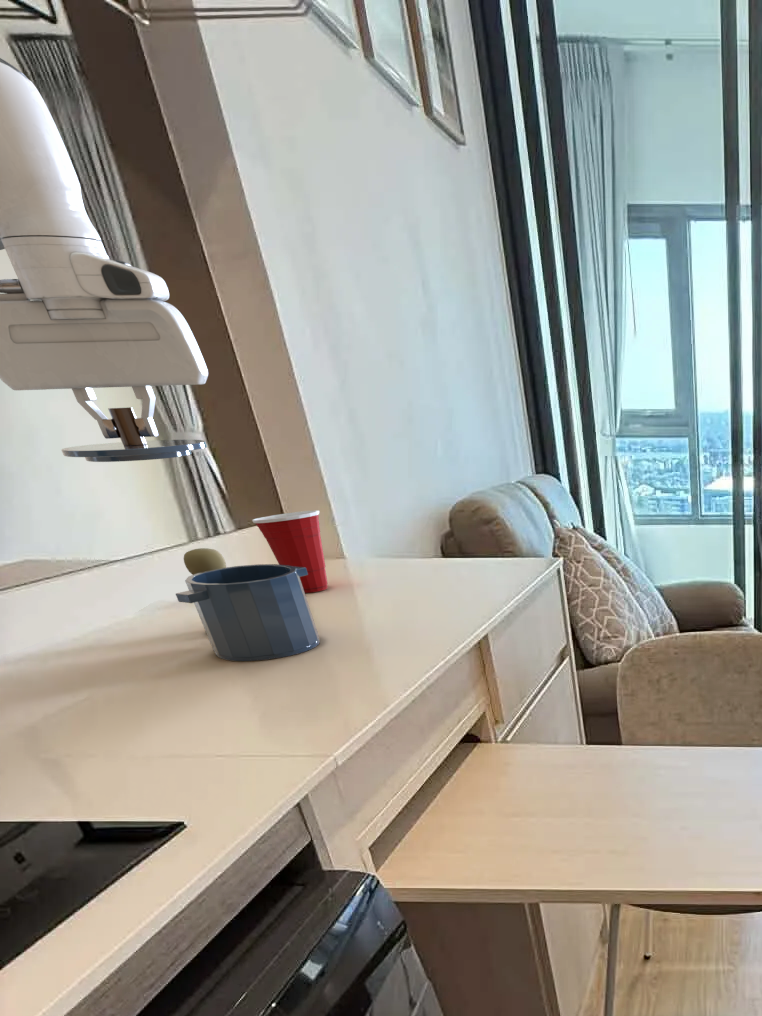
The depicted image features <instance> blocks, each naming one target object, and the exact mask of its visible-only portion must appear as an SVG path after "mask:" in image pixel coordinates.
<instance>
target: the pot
mask: <svg viewBox="0 0 762 1016" xmlns="http://www.w3.org/2000/svg"><path fill="white" fill-rule="evenodd" d="M306 575H308V573H307V570H306V567H296V566H293V567H292V566H290V565H279V563H277V564H276V563H275V564H273V563H272V564H271V563H269V564H268V563H267V564H263V563H262V564H259V563H258V564H247V565H237V566H236V565H235V566H226V568H220V569H214V570H209V571H205V572H200V573H197V574H194V575H192V574H191V575H189V576H187V577H186V578H185V580H184V582H185V584H186V587H187V590H184V591H180V592H177V593H175V596H176V598H177V599H176V600H177V601H178V602H179V603H185V604H194V606H195V609H196V611H197V614H198V616H199V619H200V621H201V624H202V626H203V629H204V631H205V633H206V636H207V638H208V641H209V643H210V646H211V649H212V652H214V653H215V655H216V657H217V658H219V659H221V660H225V661H232V662H233V661H234V662H254V661H255V662H256V661H268V660H274V659H280V658H285V657H291V656H295V655H299V654H302V653H305V652H308V651H310V650H313V649H314V648H316V647H317V646H318V645H319V644H320V642H321V641H320V635H319V632H318V629H317V626H316V623H315V619H314V618H313V614H312V611H311V608H310V605H309V602H308V599H307V596H306V593H305V592H304V589H303V586H302V583H301V580H300V577H301V576H306Z"/></svg>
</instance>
